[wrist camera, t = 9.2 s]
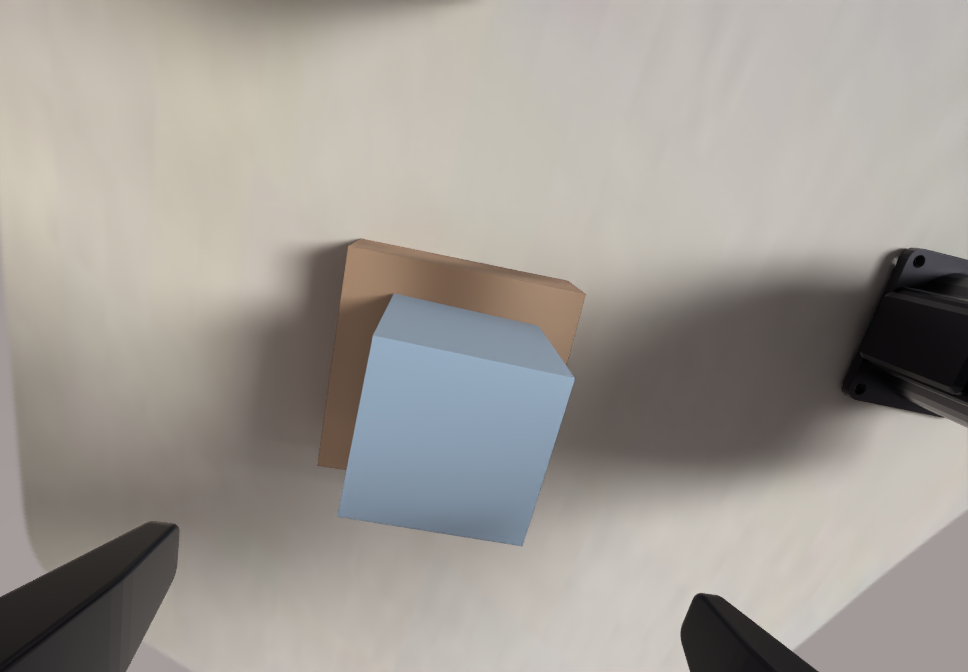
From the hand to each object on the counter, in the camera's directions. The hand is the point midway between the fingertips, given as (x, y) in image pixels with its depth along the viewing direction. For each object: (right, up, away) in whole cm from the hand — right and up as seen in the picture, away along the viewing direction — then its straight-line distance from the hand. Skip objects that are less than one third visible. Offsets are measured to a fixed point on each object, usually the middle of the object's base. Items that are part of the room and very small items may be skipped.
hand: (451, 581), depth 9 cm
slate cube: (-1, +3, +9) cm, 9 cm away
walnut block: (-1, +3, +12) cm, 12 cm away
